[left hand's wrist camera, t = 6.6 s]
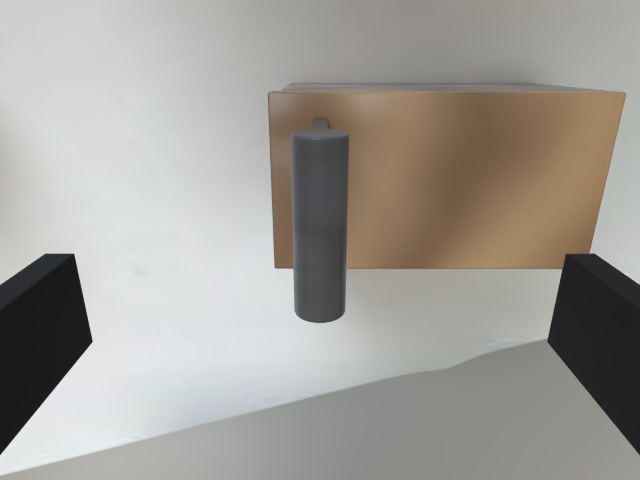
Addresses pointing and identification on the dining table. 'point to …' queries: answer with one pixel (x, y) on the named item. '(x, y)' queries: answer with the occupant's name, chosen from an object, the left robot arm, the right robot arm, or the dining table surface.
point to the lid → (433, 182)
